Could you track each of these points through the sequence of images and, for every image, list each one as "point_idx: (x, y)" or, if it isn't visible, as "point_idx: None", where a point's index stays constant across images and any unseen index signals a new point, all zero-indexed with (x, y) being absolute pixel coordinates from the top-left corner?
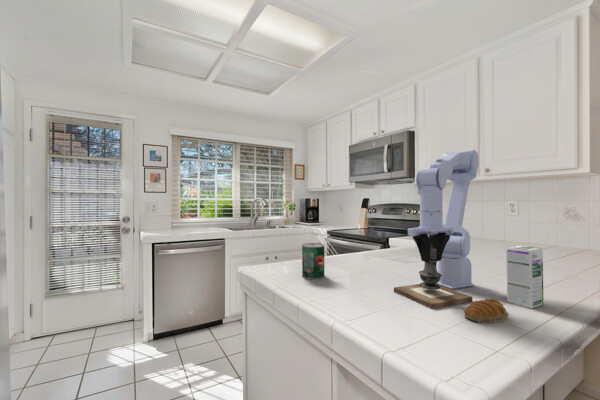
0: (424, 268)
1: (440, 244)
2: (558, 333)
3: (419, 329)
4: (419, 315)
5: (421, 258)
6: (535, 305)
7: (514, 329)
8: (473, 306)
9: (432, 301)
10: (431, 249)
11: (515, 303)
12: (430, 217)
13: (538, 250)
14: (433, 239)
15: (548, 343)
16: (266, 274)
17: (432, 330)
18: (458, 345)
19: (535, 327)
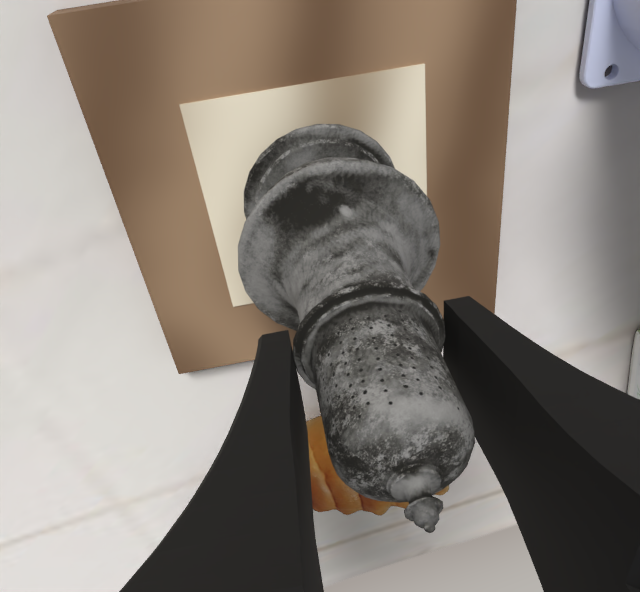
0: (294, 274)
1: (533, 541)
2: (465, 534)
3: (9, 502)
4: (71, 408)
5: (256, 357)
6: None
7: (366, 514)
8: (318, 480)
9: (207, 346)
10: (372, 495)
11: (633, 358)
12: None
13: None
14: (585, 512)
15: (371, 568)
16: None
17: (61, 509)
18: (98, 573)
19: (447, 507)
